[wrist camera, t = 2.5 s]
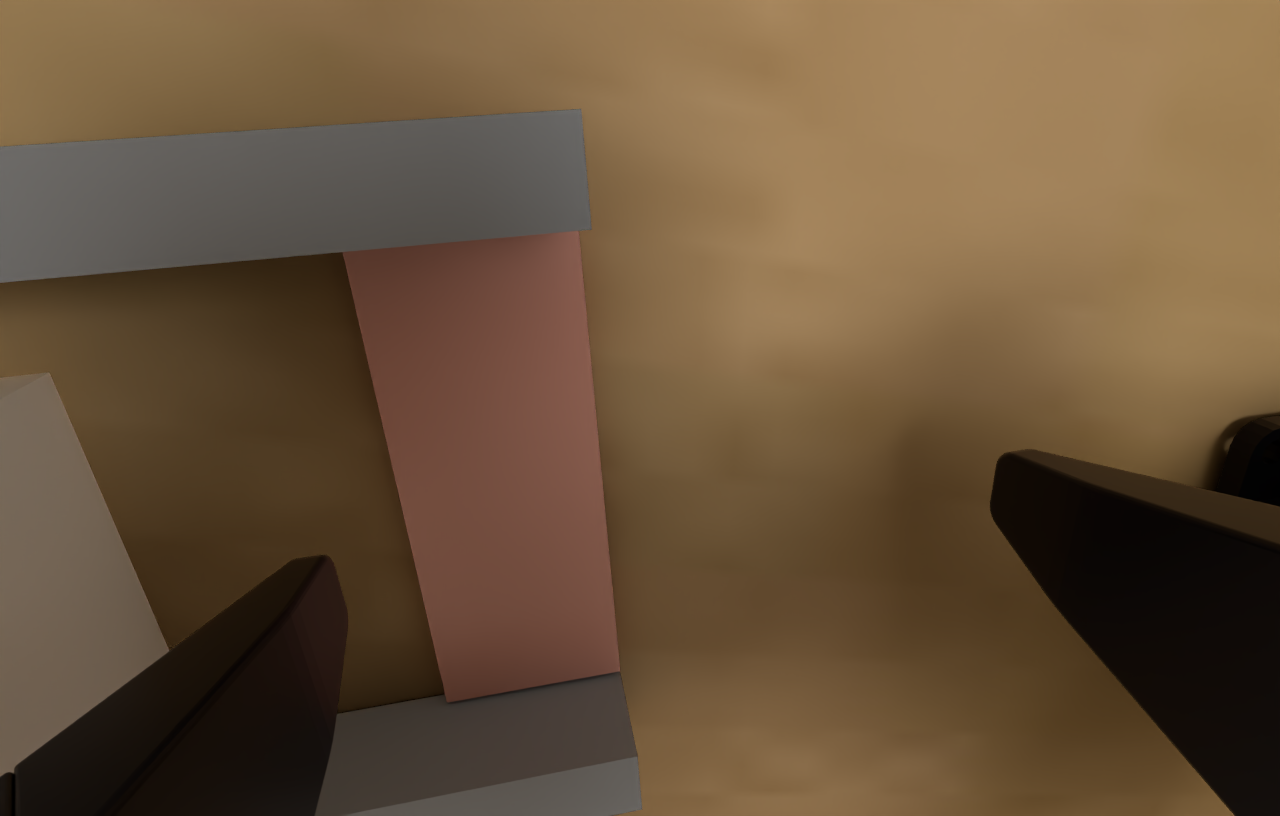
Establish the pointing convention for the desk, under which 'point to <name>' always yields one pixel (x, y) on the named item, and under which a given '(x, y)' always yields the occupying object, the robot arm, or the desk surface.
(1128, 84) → the desk surface
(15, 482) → the cream block
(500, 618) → the u-shaped bracket
